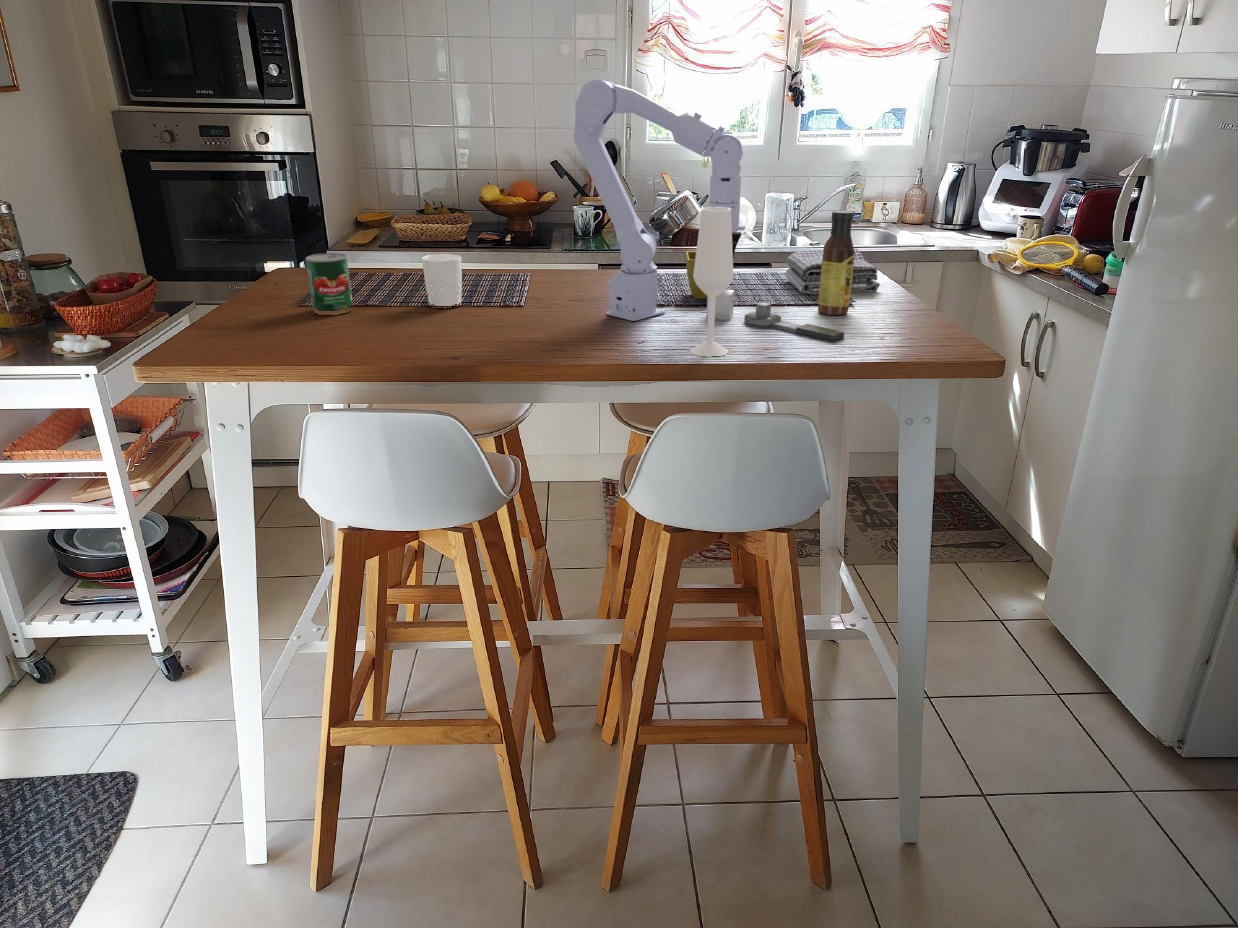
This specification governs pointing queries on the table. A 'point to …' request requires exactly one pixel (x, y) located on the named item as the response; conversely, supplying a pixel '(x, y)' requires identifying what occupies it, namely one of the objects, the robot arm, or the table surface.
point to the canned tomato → (329, 281)
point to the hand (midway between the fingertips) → (722, 273)
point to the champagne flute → (713, 267)
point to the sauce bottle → (837, 266)
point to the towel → (809, 272)
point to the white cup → (443, 279)
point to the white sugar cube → (723, 305)
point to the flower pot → (690, 264)
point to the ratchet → (789, 325)
